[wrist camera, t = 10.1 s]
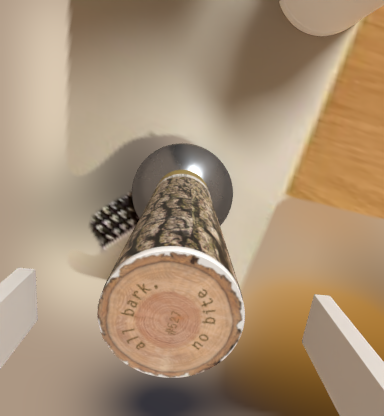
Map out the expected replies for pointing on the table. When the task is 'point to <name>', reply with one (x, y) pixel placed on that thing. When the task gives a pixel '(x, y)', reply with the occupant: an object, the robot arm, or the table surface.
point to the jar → (327, 14)
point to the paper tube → (173, 286)
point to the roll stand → (183, 160)
